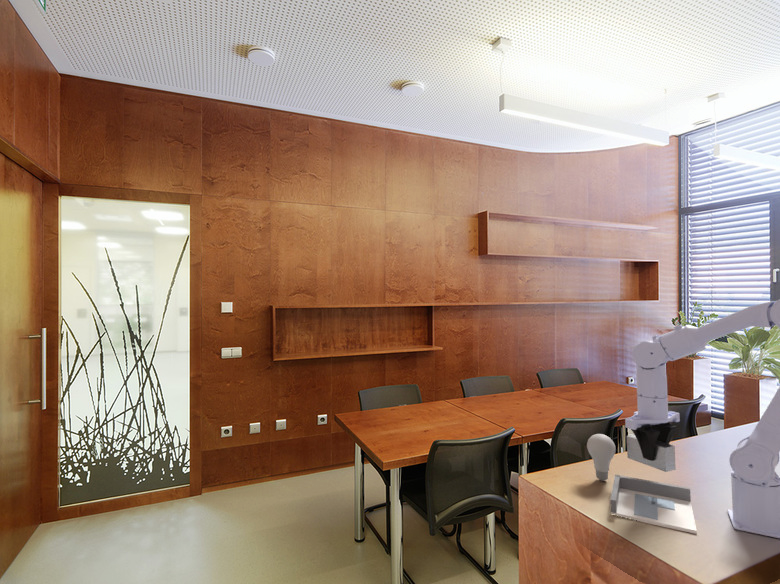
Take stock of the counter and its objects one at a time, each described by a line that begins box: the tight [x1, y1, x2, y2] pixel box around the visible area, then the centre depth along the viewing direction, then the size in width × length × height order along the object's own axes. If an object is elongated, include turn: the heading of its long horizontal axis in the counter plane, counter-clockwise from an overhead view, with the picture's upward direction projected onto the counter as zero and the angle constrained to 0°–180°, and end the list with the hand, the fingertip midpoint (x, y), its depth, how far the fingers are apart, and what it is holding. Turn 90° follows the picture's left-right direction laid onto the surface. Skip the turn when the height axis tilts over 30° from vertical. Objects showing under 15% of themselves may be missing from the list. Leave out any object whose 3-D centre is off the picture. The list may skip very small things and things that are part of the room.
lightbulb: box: [586, 433, 617, 482], centre depth 100 cm, size 6×6×11 cm
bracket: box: [626, 434, 677, 473], centre depth 93 cm, size 9×6×5 cm, turn 22°
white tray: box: [609, 474, 698, 535], centre depth 86 cm, size 14×14×3 cm
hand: (654, 458), depth 92 cm, fingers closed on bracket, 3 cm apart
